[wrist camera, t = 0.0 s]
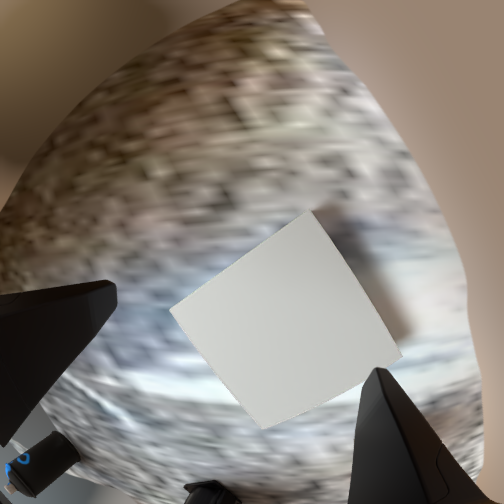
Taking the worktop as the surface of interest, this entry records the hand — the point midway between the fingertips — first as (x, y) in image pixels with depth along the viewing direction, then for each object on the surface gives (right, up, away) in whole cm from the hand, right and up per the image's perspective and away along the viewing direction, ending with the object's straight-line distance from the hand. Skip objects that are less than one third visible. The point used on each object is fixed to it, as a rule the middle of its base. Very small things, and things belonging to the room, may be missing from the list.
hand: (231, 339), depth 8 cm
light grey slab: (+4, -4, +15) cm, 16 cm away
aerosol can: (-37, -37, +27) cm, 59 cm away
